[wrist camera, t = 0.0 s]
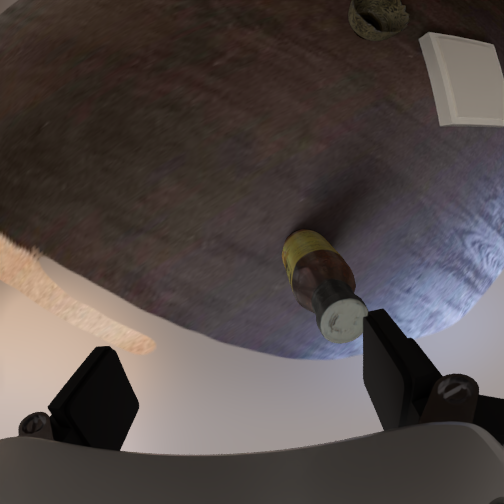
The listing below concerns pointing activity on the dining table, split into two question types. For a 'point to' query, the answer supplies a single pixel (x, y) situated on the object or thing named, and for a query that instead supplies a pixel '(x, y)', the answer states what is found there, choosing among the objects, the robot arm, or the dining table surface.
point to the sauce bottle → (324, 285)
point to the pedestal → (464, 80)
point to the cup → (377, 18)
